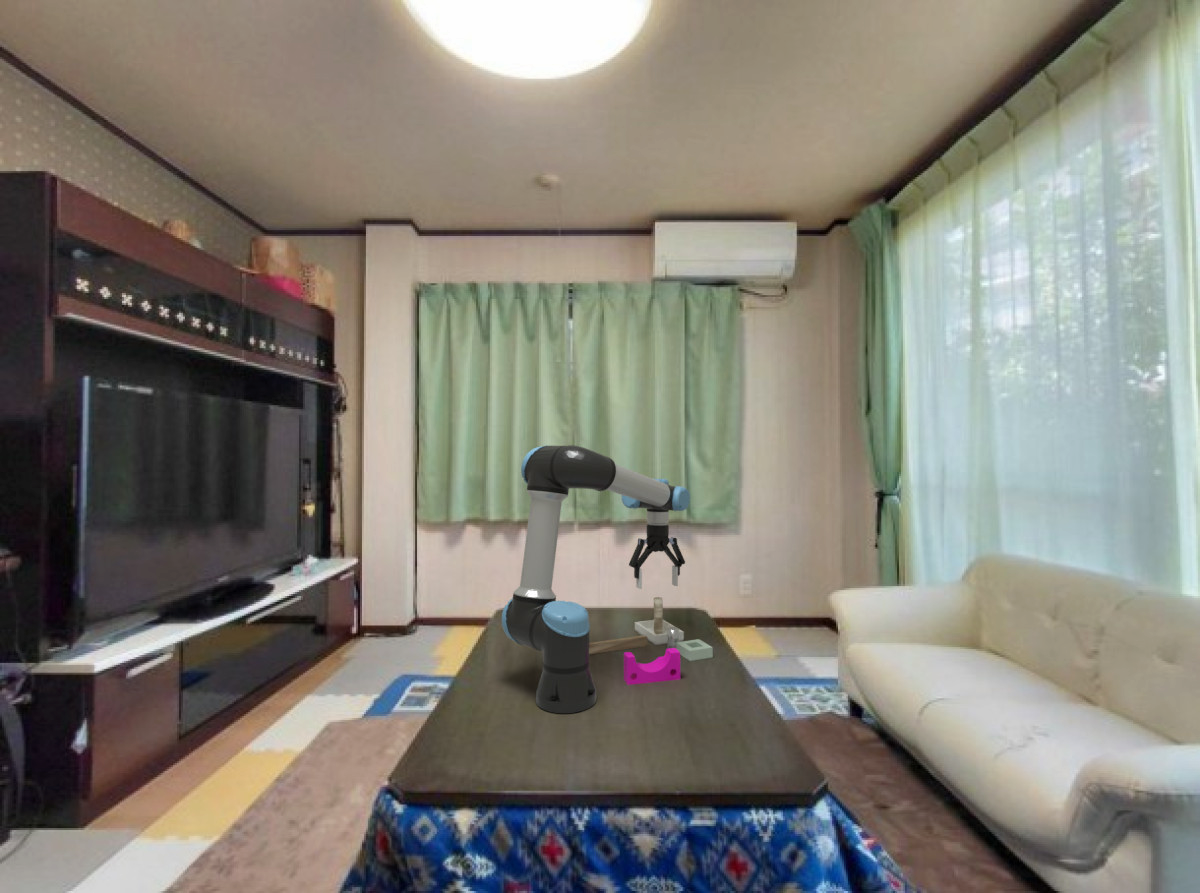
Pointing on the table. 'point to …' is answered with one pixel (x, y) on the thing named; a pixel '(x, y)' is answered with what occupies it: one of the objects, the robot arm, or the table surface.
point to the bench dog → (672, 637)
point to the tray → (648, 630)
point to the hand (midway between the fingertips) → (657, 586)
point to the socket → (694, 650)
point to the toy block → (652, 668)
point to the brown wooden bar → (617, 644)
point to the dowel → (658, 615)
